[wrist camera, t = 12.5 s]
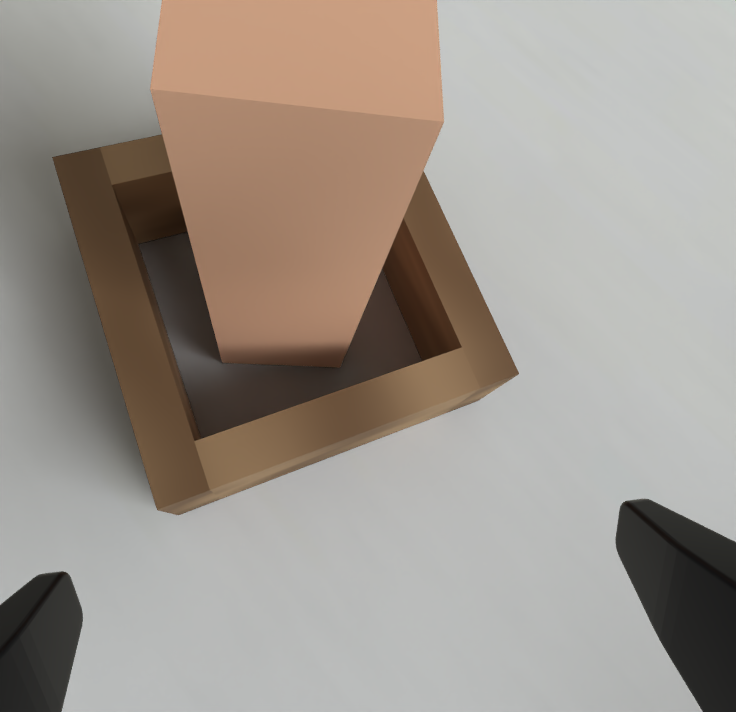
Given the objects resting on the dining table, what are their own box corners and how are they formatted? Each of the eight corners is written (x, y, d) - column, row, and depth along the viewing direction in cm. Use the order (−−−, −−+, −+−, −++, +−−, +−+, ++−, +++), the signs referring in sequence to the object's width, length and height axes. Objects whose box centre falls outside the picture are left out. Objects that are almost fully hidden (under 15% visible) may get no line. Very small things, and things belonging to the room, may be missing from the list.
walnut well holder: (178, 515, 20) (157, 510, 16) (88, 221, 22) (52, 157, 19) (477, 400, 23) (519, 373, 19) (367, 154, 25) (384, 88, 22)
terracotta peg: (340, 367, 22) (443, 121, 9) (222, 362, 22) (150, 89, 8) (340, 264, 24) (431, -80, 10) (230, 256, 23) (178, -123, 10)
